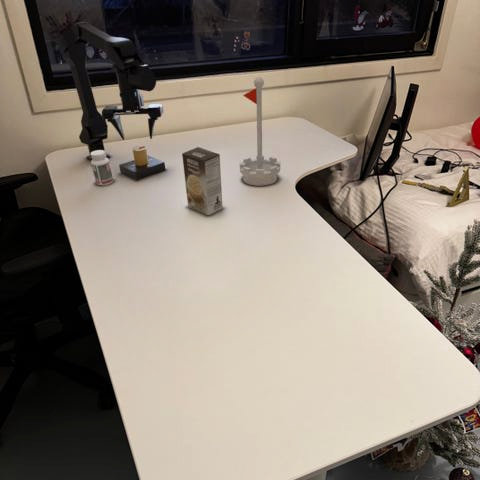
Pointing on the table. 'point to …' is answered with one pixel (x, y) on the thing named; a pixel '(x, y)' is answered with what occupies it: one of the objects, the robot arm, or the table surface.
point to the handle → (140, 155)
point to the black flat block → (142, 168)
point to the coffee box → (203, 180)
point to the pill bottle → (101, 167)
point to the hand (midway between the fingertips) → (137, 139)
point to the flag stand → (259, 148)
